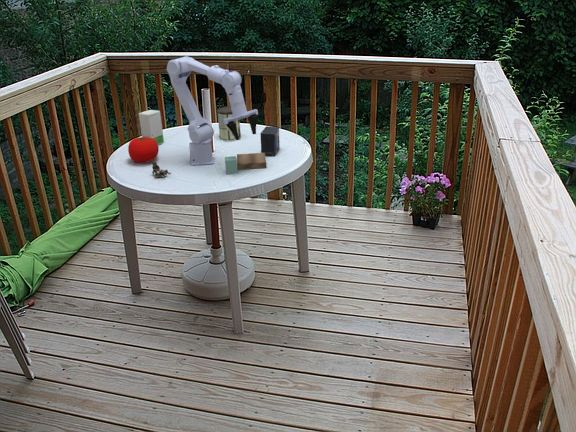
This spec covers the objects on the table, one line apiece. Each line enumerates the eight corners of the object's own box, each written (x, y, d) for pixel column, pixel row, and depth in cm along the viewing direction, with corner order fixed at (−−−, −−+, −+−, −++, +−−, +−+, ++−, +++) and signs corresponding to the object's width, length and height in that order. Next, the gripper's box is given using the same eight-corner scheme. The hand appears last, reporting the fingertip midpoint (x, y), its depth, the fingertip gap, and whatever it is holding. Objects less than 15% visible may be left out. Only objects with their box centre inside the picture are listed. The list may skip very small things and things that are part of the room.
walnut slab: (237, 169, 235) (237, 164, 234) (237, 159, 246) (236, 154, 244) (266, 168, 236) (266, 162, 235) (264, 158, 246) (264, 152, 245)
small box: (275, 156, 248) (274, 133, 243) (260, 156, 249) (259, 133, 244) (280, 148, 257) (279, 126, 252) (266, 148, 258) (265, 125, 254)
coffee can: (228, 133, 280) (226, 105, 273) (245, 136, 275) (243, 107, 268) (215, 139, 272) (212, 110, 266) (232, 142, 267) (230, 113, 261)
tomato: (130, 156, 253) (126, 134, 249) (159, 153, 256) (156, 131, 251) (130, 167, 241) (126, 144, 236) (160, 164, 243) (157, 141, 239)
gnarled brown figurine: (172, 180, 225) (146, 169, 224) (168, 193, 228) (142, 182, 228) (181, 166, 234) (157, 156, 234) (178, 178, 238) (153, 168, 238)
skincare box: (152, 147, 263) (147, 115, 257) (142, 145, 266) (137, 113, 260) (164, 142, 270) (160, 110, 263) (154, 140, 273) (150, 108, 266)
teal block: (226, 174, 230) (225, 160, 228) (225, 170, 234) (224, 156, 232) (237, 173, 231) (236, 159, 228) (236, 169, 235) (235, 156, 232)
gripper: (224, 108, 217) (233, 142, 221) (257, 98, 223) (266, 132, 227) (217, 108, 223) (226, 141, 228) (250, 98, 229) (258, 131, 233)
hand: (246, 136), depth 228 cm, fingers open, 7 cm apart
